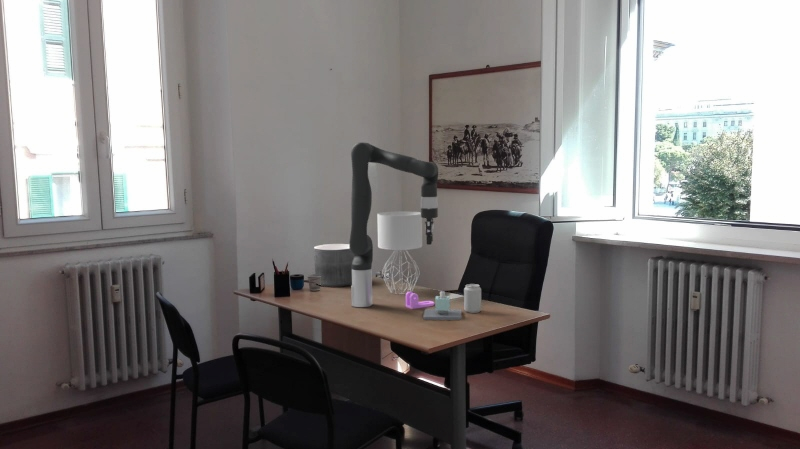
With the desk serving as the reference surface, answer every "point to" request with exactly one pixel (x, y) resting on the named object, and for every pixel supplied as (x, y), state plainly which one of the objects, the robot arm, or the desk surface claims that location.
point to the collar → (442, 303)
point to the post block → (442, 313)
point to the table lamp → (399, 238)
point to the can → (472, 298)
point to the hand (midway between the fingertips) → (429, 243)
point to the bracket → (416, 301)
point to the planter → (334, 264)
